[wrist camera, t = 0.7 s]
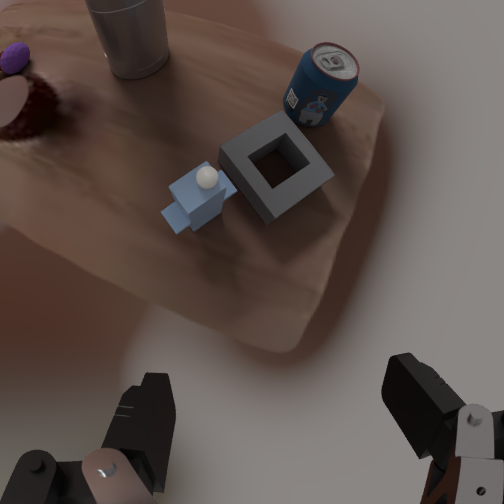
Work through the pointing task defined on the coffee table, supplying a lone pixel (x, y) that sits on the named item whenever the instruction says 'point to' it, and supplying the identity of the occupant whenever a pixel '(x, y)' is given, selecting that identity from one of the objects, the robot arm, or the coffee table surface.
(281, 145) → the grey block with hole
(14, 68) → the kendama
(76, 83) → the coffee table surface
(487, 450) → the robot arm
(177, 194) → the block
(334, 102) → the soda can
